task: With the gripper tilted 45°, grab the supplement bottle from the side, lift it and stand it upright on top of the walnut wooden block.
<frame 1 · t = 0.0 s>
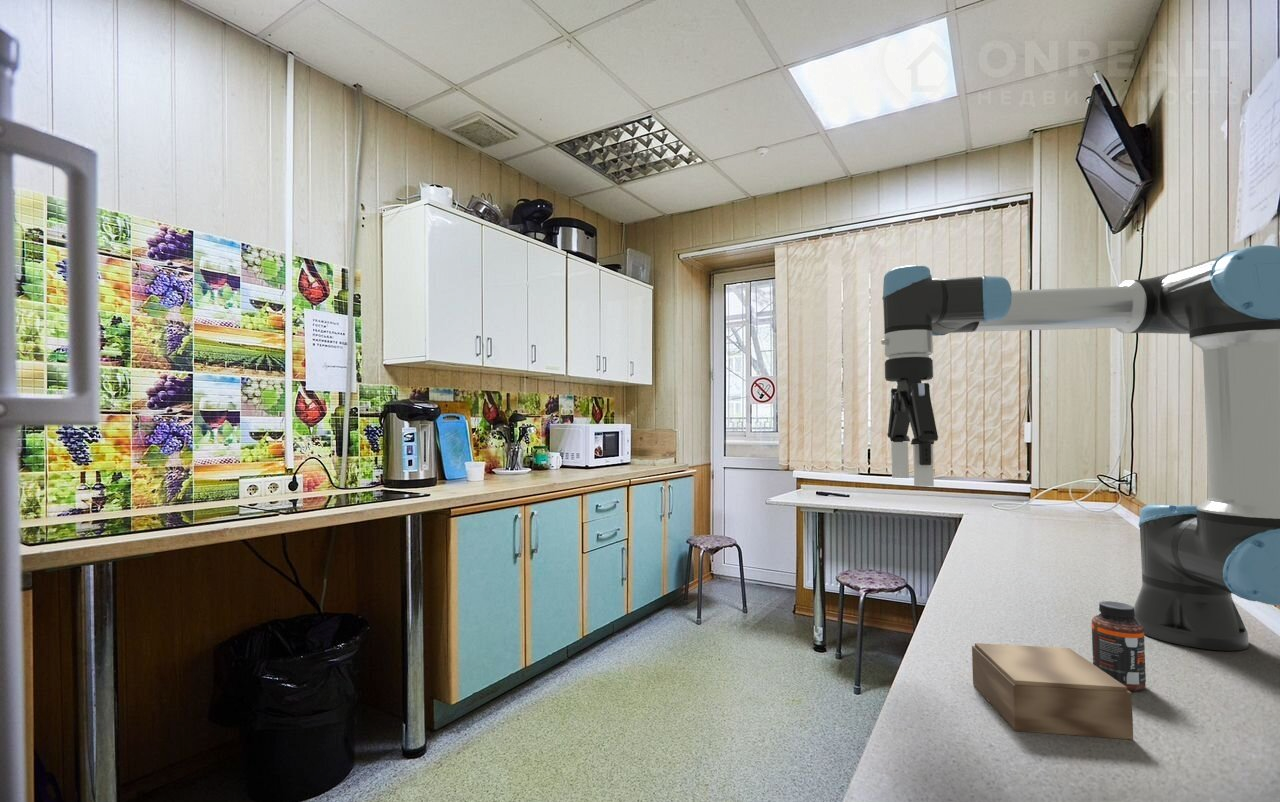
hand: (911, 481, 99), 28 cm above the table, tool pointing down, fingers open, 13 cm apart
supplement bottle: (1119, 684, 85), on the table
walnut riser: (1045, 709, 77), on the table
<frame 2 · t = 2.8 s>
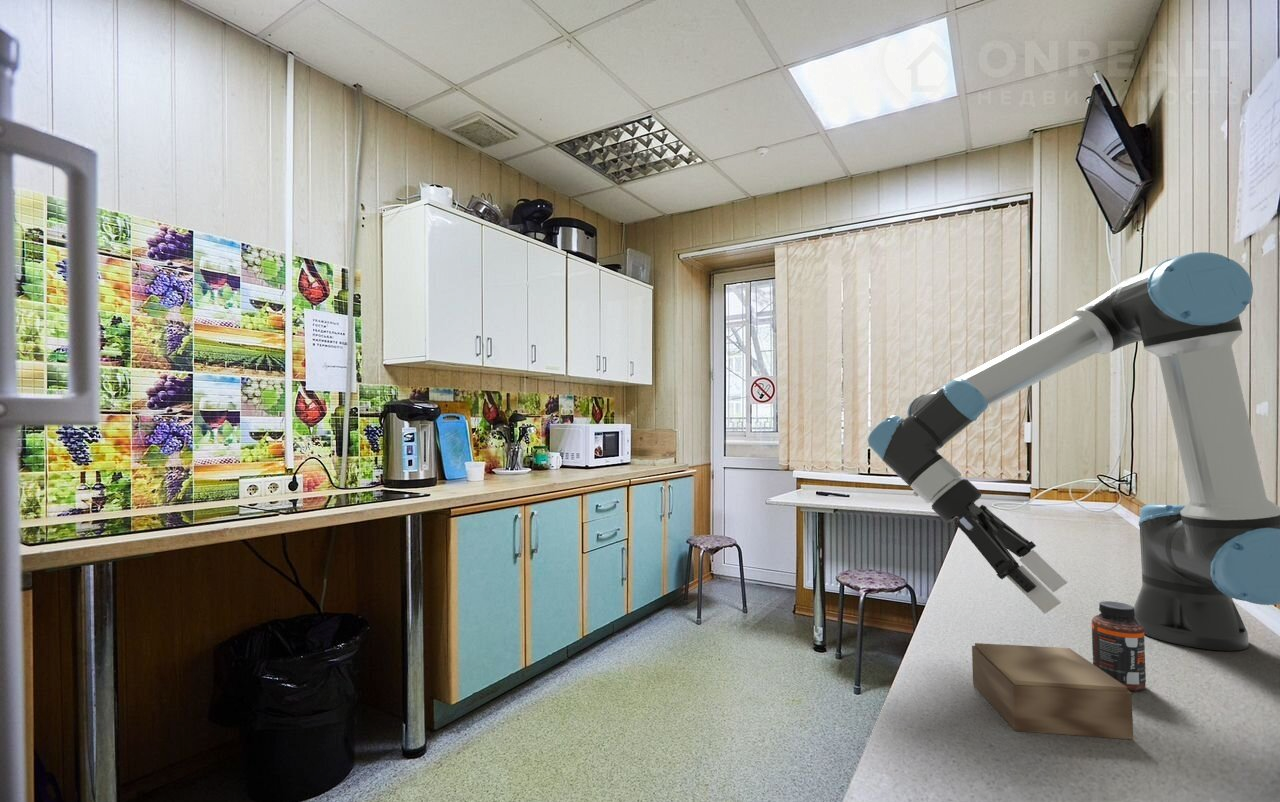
hand: (1057, 597, 89), 11 cm above the table, tool tilted 45°, fingers open, 13 cm apart
nothing on the table moved.
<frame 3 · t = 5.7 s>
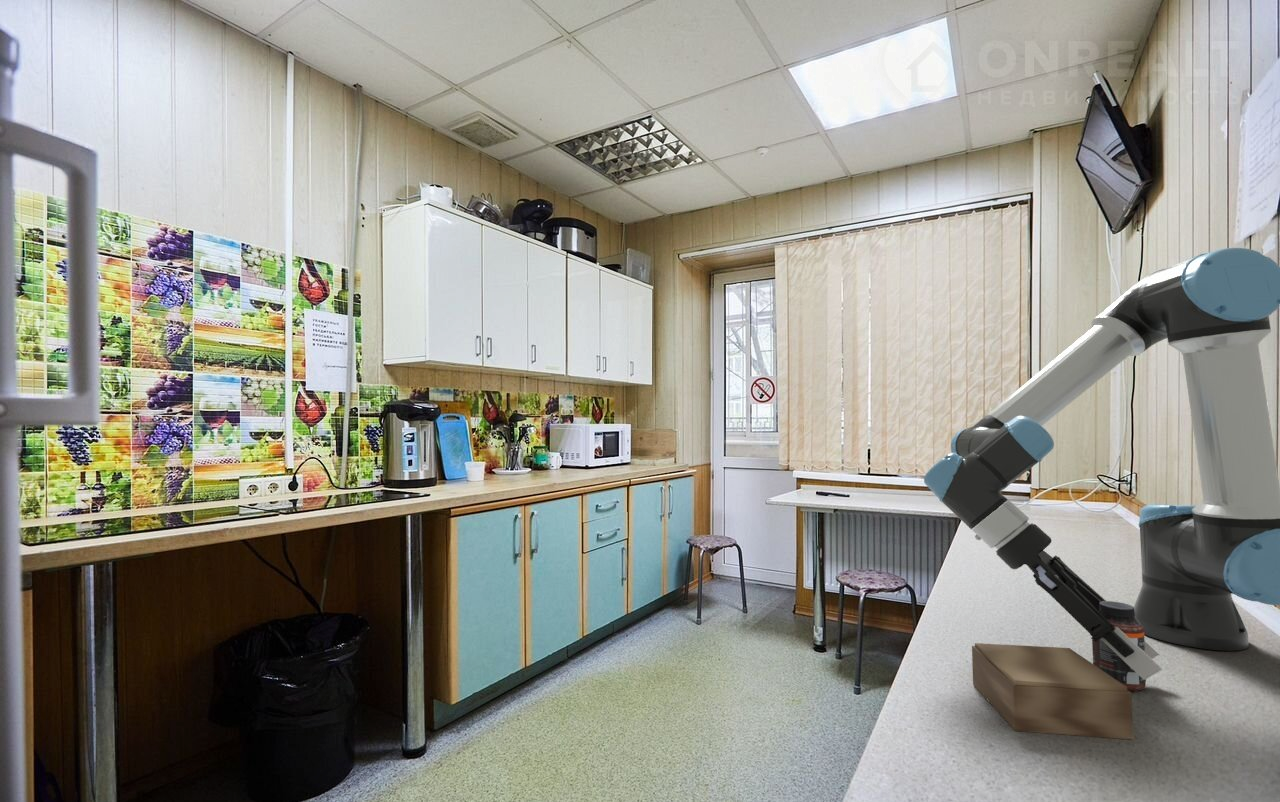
hand: (1151, 665, 82), 3 cm above the table, tool tilted 45°, fingers closed on supplement bottle, 6 cm apart
supplement bottle: (1119, 684, 85), on the table, touching gripper
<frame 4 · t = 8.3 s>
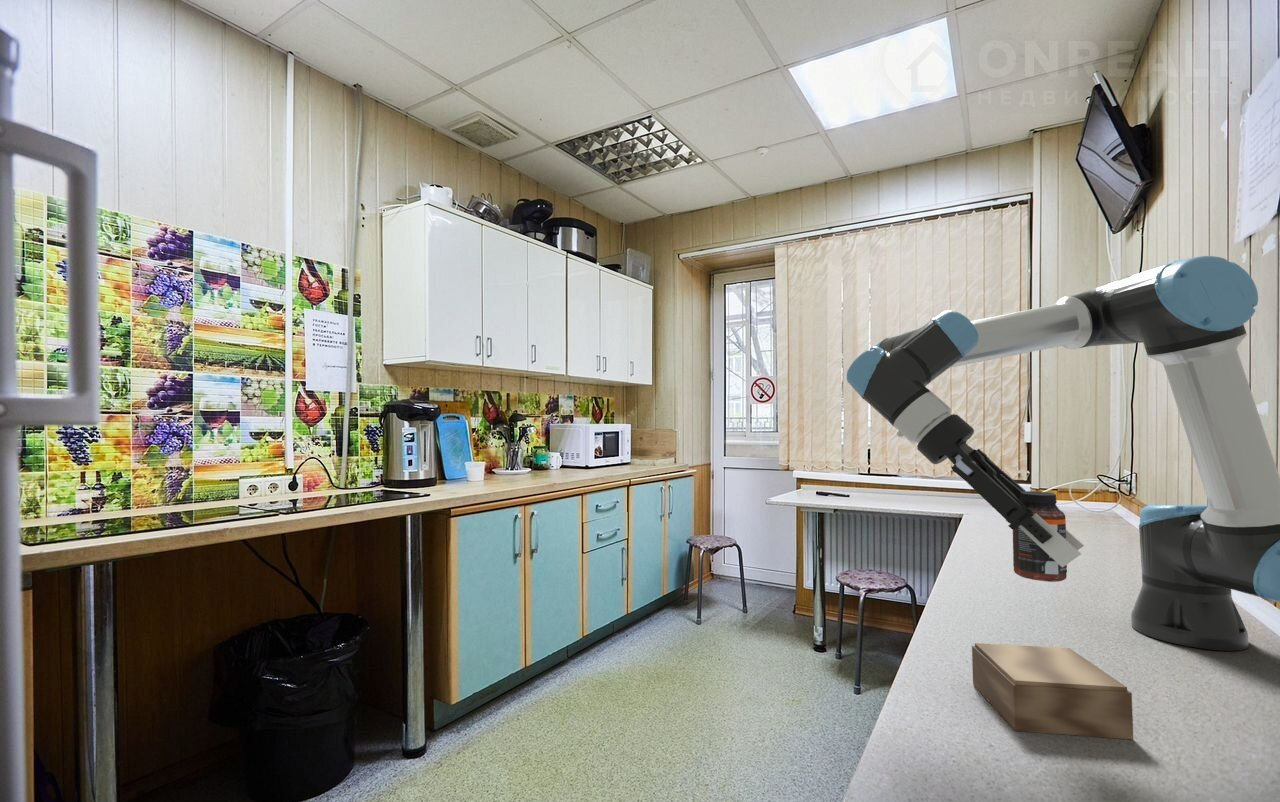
hand: (1073, 555, 76), 21 cm above the table, tool tilted 45°, fingers closed on supplement bottle, 6 cm apart
supplement bottle: (1039, 578, 78), point 17 cm above the table, touching gripper
when the fingers open (11 cm above the table, at t = 10.9 s): supplement bottle drops 1 cm, resting on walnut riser.
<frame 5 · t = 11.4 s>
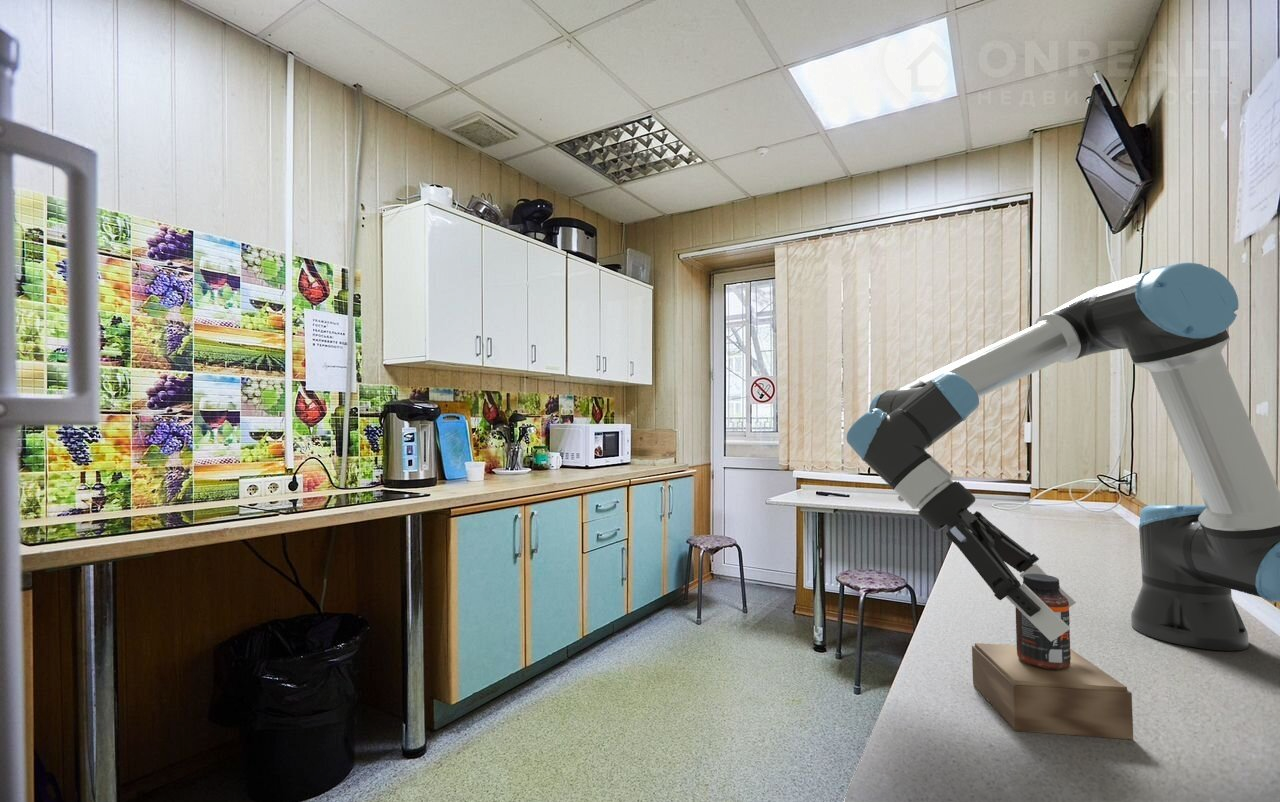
hand: (1064, 620, 76), 12 cm above the table, tool tilted 45°, fingers open, 13 cm apart
supplement bottle: (1043, 663, 78), point 6 cm above the table, touching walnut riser
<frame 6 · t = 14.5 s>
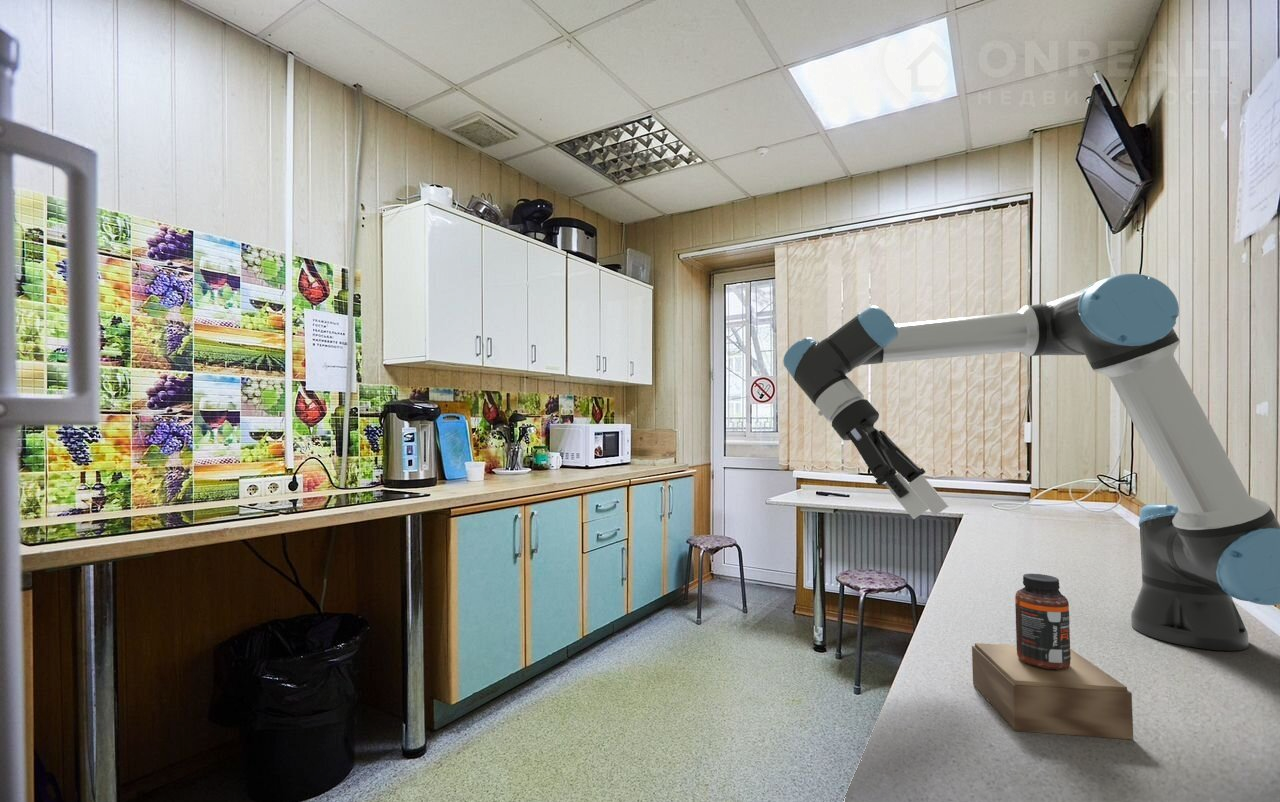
hand: (932, 512, 92), 24 cm above the table, tool tilted 40°, fingers open, 13 cm apart
nothing on the table moved.
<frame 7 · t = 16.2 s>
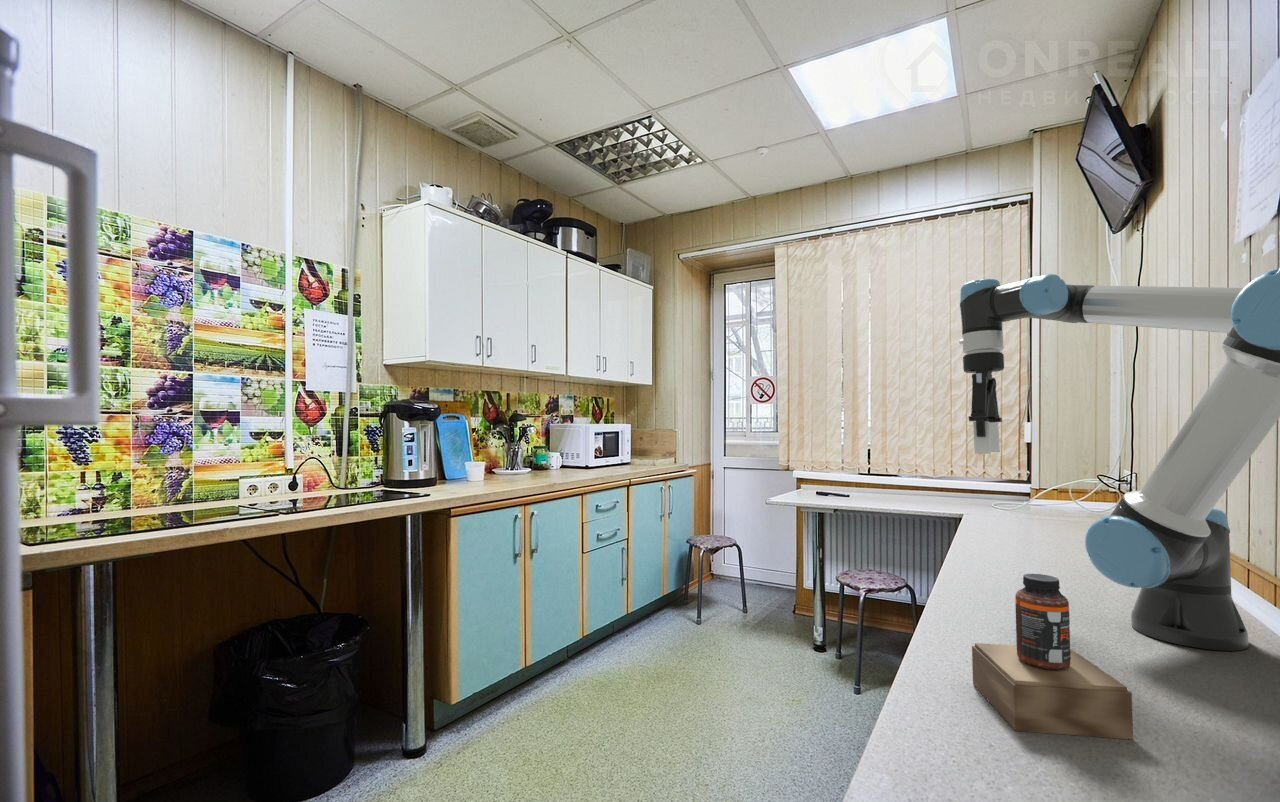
hand: (987, 452, 123), 31 cm above the table, tool pointing down, fingers open, 13 cm apart
nothing on the table moved.
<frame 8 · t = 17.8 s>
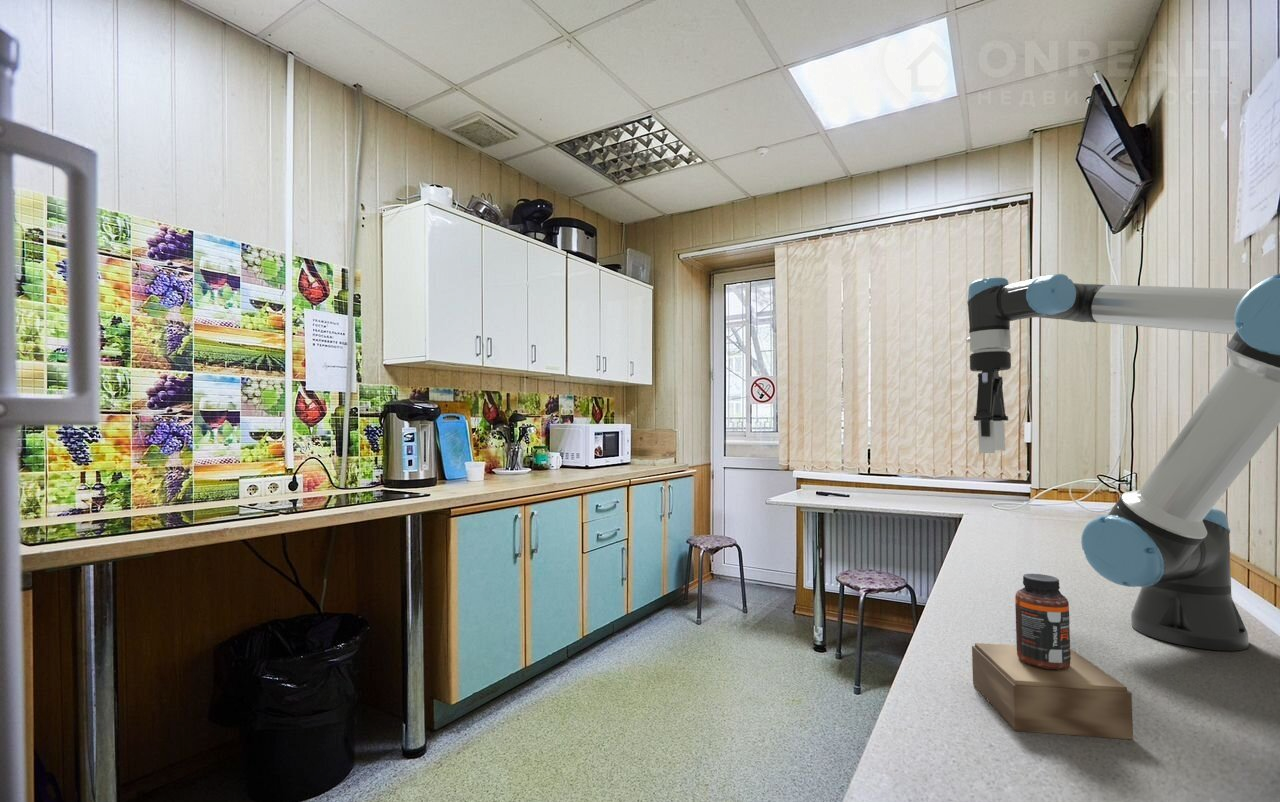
hand: (992, 451, 123), 32 cm above the table, tool pointing down, fingers open, 13 cm apart
nothing on the table moved.
at the end: supplement bottle inside the target area on the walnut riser (0.2 cm from its centre), point 5.8 cm above the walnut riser's base; supplement bottle tilted 0°; the gripper is holding nothing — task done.
